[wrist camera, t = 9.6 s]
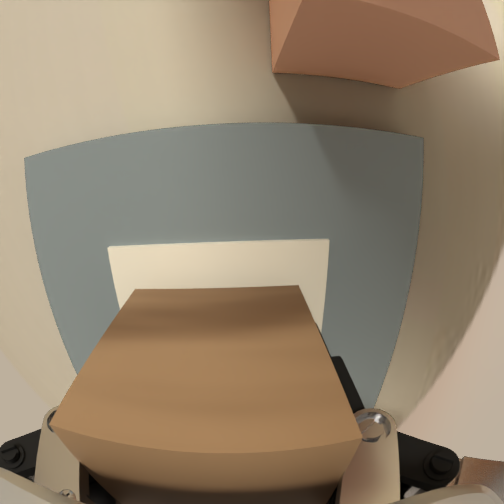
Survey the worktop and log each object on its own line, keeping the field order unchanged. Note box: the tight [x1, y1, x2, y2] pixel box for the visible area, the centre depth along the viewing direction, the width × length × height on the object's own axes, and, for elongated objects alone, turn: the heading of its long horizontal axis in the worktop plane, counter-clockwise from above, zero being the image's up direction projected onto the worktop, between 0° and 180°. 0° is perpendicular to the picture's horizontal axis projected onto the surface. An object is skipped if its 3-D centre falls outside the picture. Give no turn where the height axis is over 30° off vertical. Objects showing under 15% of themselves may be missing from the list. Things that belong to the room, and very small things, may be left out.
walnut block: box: [49, 285, 363, 504], centre depth 7 cm, size 6×6×6 cm
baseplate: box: [24, 123, 424, 409], centre depth 11 cm, size 16×16×1 cm
